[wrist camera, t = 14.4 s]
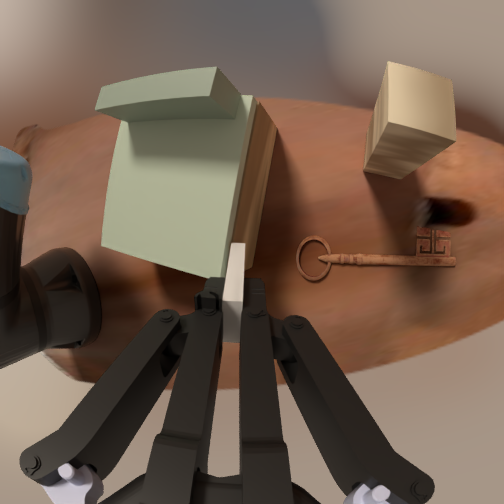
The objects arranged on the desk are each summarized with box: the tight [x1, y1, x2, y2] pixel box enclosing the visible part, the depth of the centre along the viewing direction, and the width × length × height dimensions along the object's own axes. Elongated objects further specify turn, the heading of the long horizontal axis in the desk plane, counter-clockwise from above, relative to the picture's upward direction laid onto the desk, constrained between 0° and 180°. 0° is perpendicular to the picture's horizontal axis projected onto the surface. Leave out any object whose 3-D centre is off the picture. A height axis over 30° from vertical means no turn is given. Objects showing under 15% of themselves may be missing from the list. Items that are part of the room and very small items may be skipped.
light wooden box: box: [225, 101, 277, 278], centre depth 23 cm, size 12×13×6 cm
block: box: [363, 61, 456, 179], centre depth 15 cm, size 4×4×12 cm
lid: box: [95, 67, 257, 278], centre depth 17 cm, size 12×13×5 cm
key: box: [296, 226, 456, 281], centre depth 21 cm, size 6×1×15 cm
